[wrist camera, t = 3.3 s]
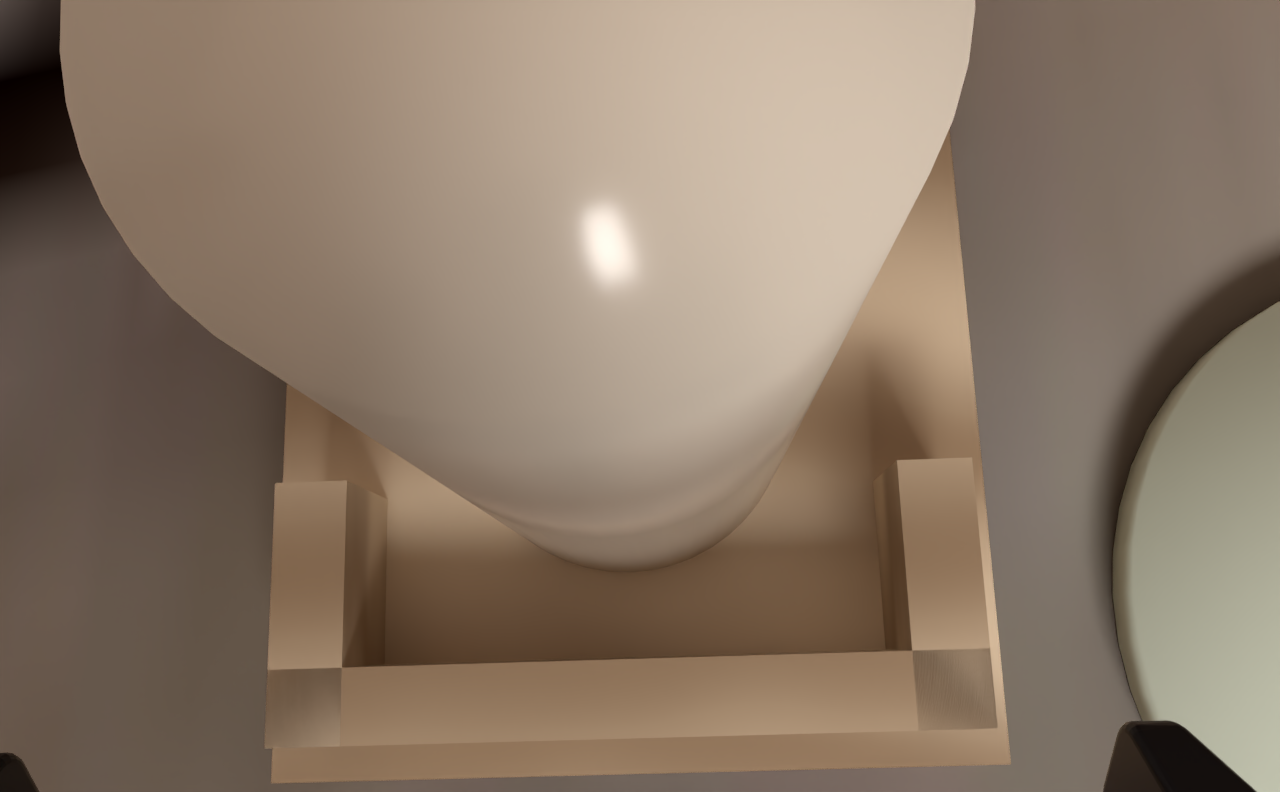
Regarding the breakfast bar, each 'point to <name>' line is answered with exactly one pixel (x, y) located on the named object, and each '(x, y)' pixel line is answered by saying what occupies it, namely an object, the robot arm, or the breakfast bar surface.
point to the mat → (1209, 555)
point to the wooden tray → (663, 591)
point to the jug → (528, 224)
